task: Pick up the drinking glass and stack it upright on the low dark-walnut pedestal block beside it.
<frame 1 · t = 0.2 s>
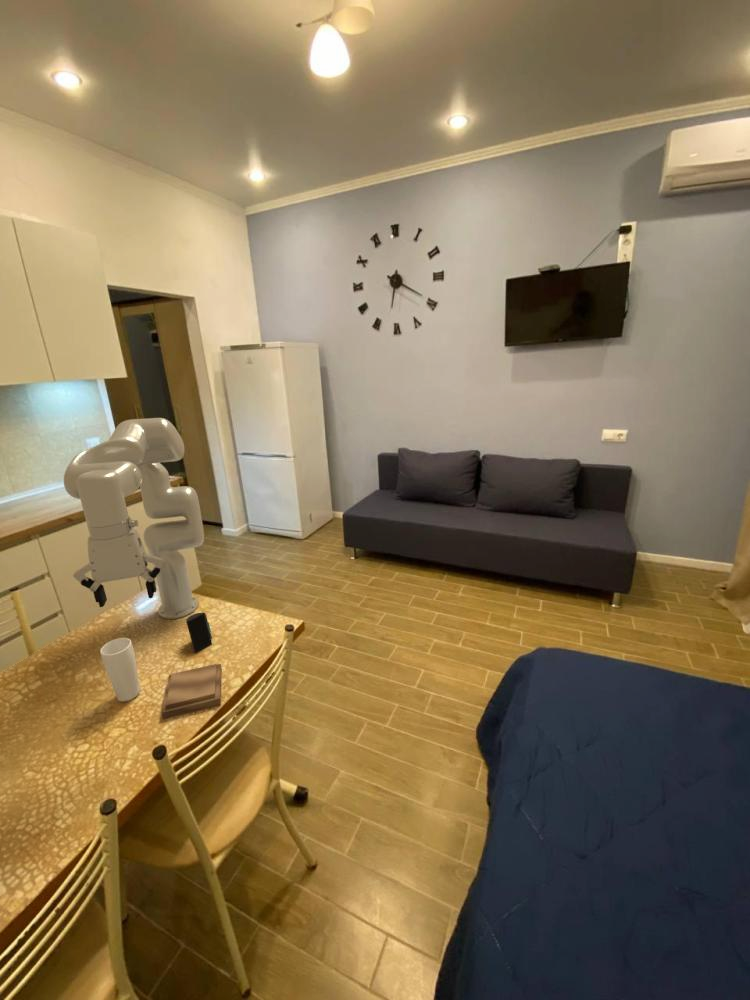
hand: (128, 599, 94), 30 cm above the table, fingers open, 9 cm apart
drinking glass: (129, 695, 108), on the table
pedestal: (194, 692, 108), on the table
speaker: (200, 643, 126), on the table
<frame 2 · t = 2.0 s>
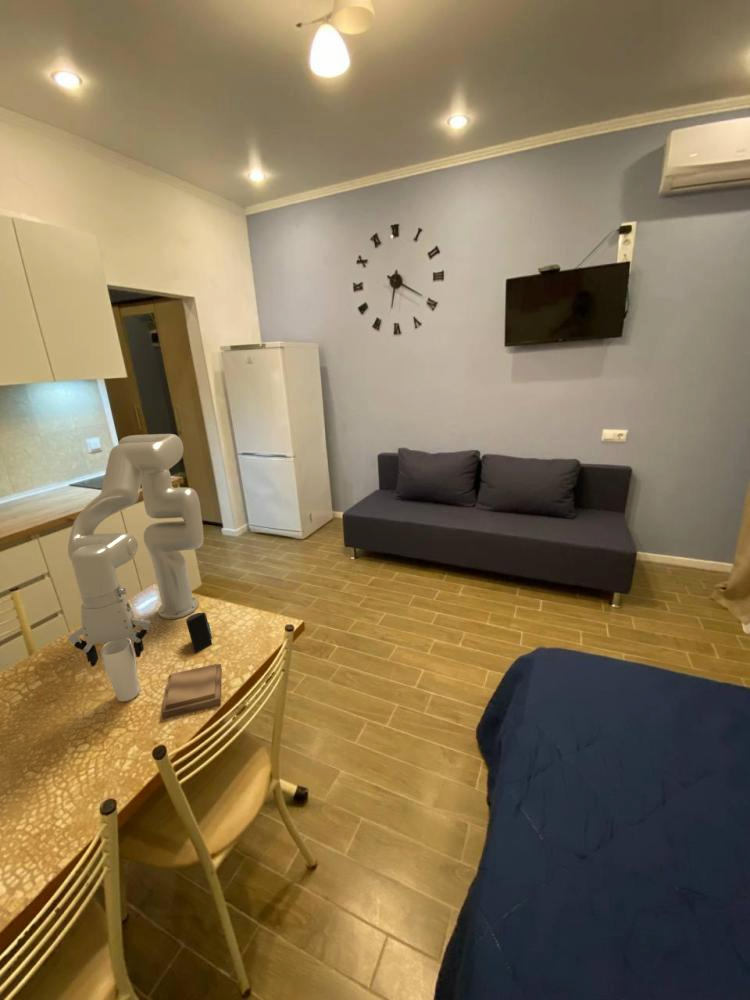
hand: (117, 658, 103), 12 cm above the table, fingers open, 9 cm apart
nothing on the table moved.
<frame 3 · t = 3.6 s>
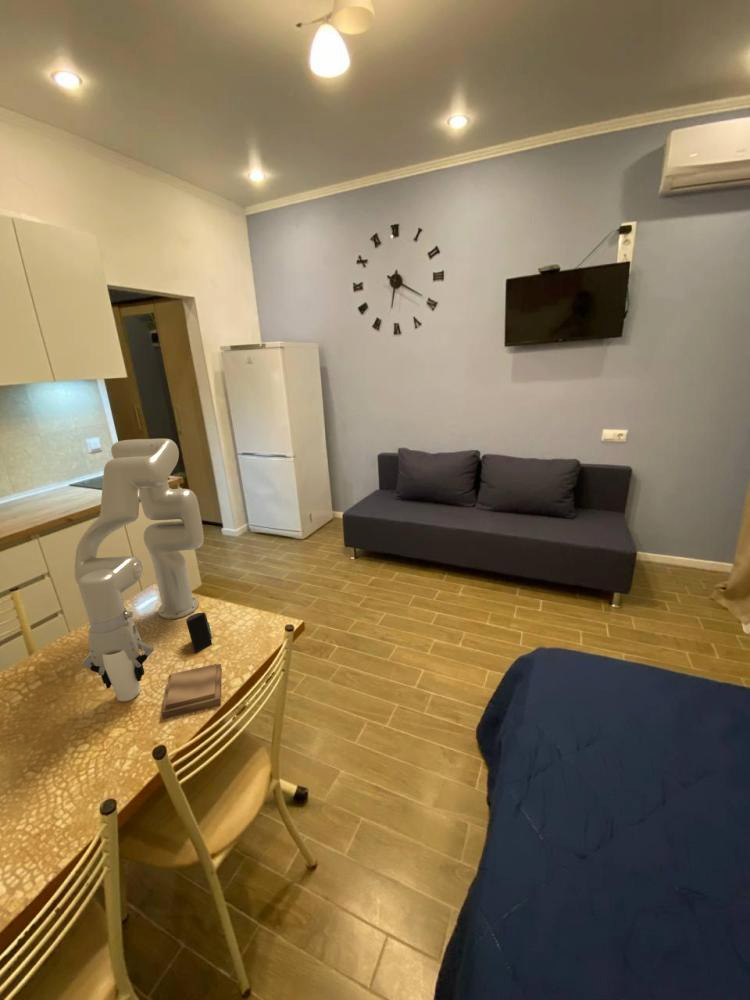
hand: (125, 680, 106), 5 cm above the table, fingers closed on drinking glass, 6 cm apart
drinking glass: (129, 695, 108), on the table, touching gripper
everything else where it was.
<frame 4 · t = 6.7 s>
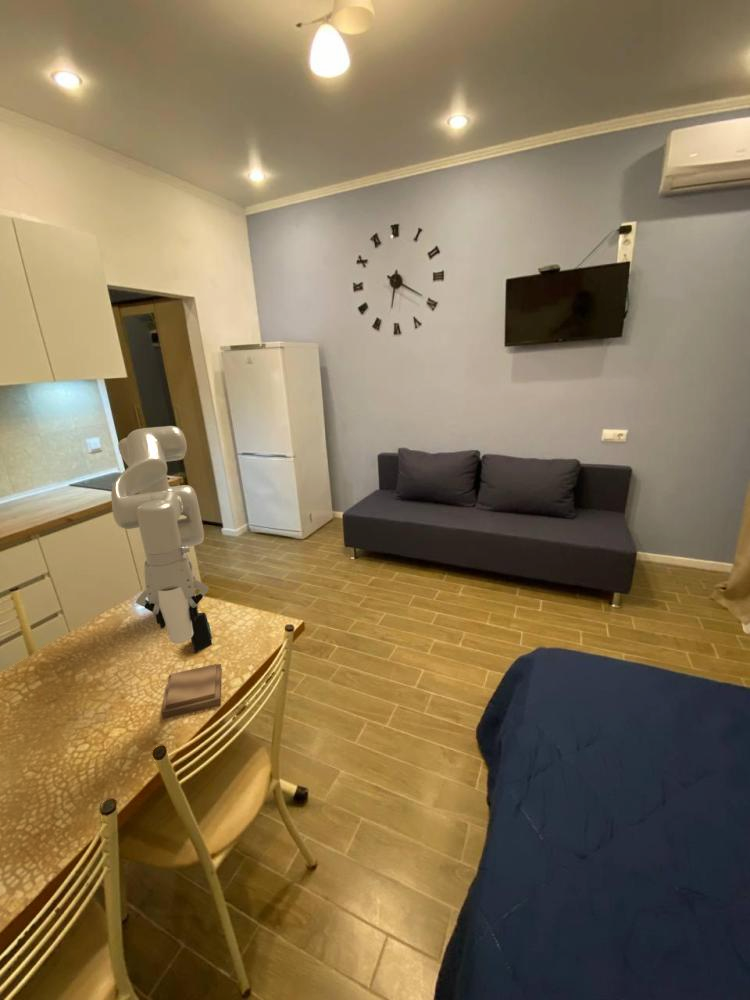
hand: (178, 621, 101), 21 cm above the table, fingers closed on drinking glass, 6 cm apart
drinking glass: (182, 638, 102), point 17 cm above the table, touching gripper
everything else where it was.
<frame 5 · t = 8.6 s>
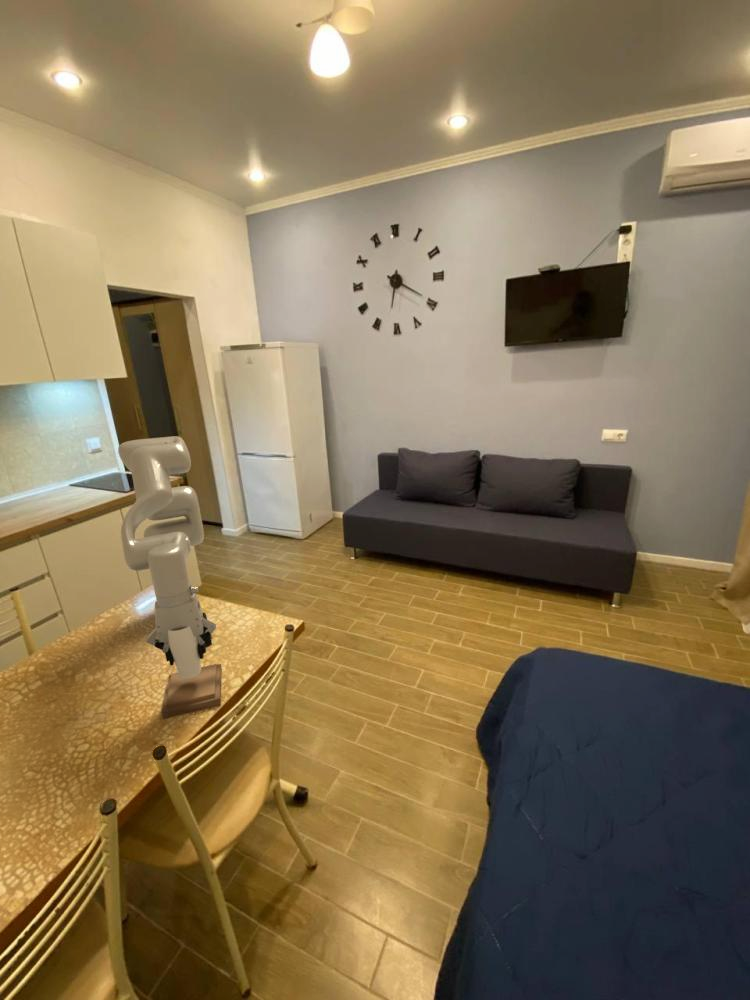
hand: (187, 658, 104), 11 cm above the table, fingers closed on drinking glass, 6 cm apart
drinking glass: (190, 674, 106), point 6 cm above the table, touching gripper
everything else where it was.
when the fingers open (9 cm above the table, at t = 9.9 s): drinking glass drops 1 cm, resting on pedestal.
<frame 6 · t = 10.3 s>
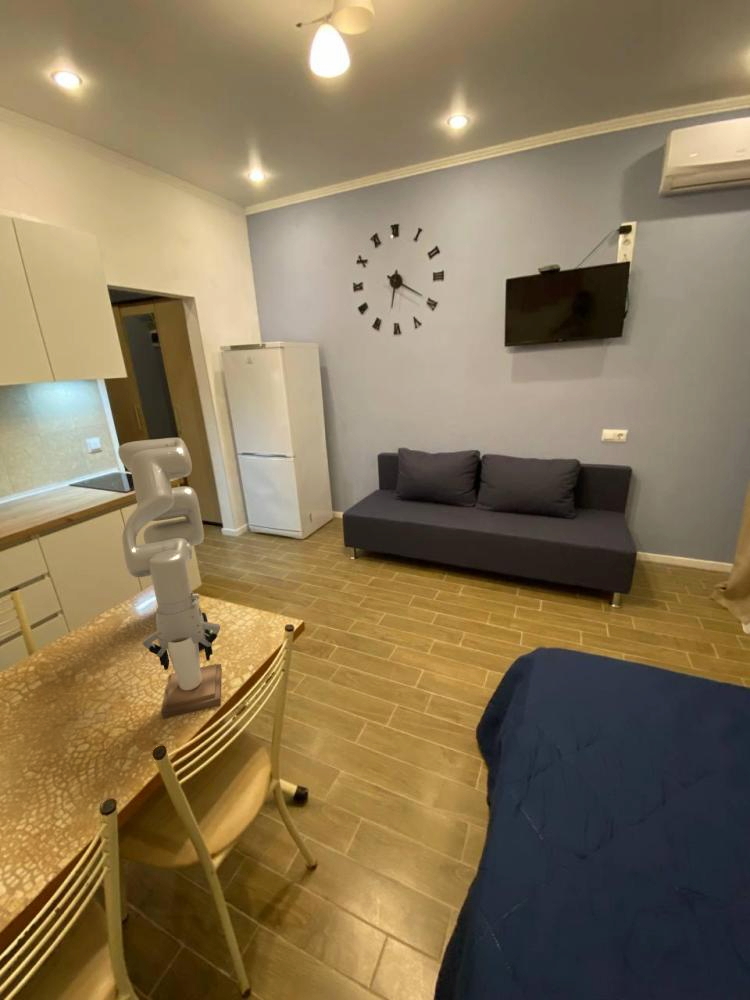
hand: (188, 661, 104), 10 cm above the table, fingers open, 9 cm apart
drinking glass: (191, 684, 107), point 3 cm above the table, touching pedestal
everything else where it was.
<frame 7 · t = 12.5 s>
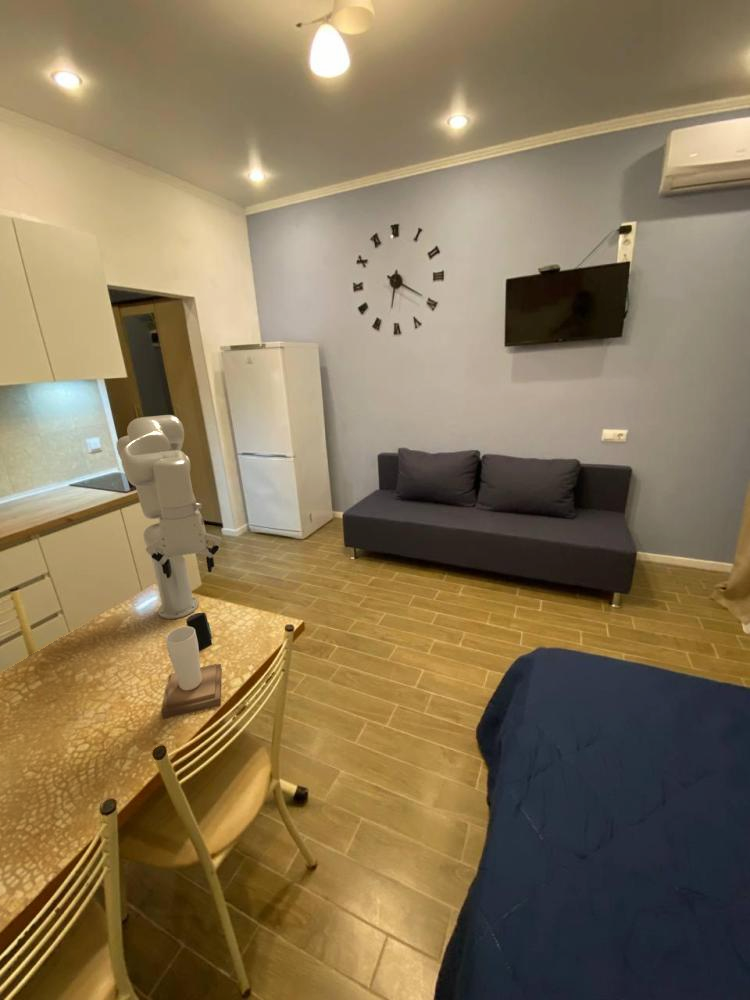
hand: (190, 572, 106), 30 cm above the table, fingers open, 9 cm apart
nothing on the table moved.
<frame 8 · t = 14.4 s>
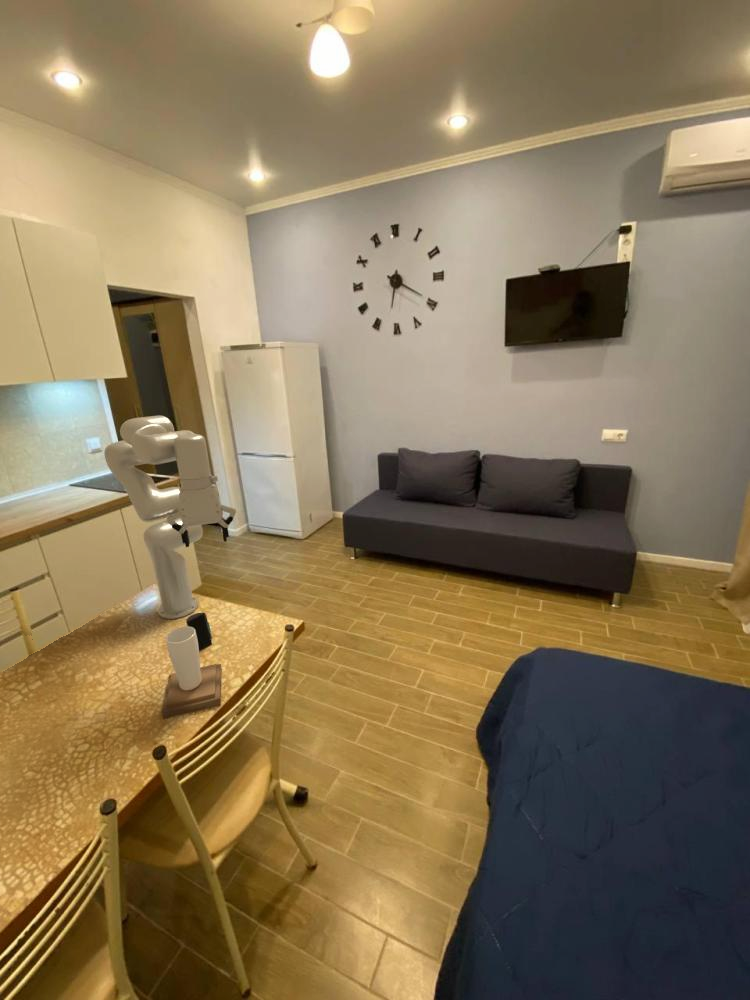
hand: (206, 542, 115), 33 cm above the table, fingers open, 9 cm apart
nothing on the table moved.
at the end: drinking glass inside the target area on the pedestal (0.4 cm from its centre), point 2.8 cm above the pedestal's base; drinking glass tilted 0°; the gripper is holding nothing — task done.
